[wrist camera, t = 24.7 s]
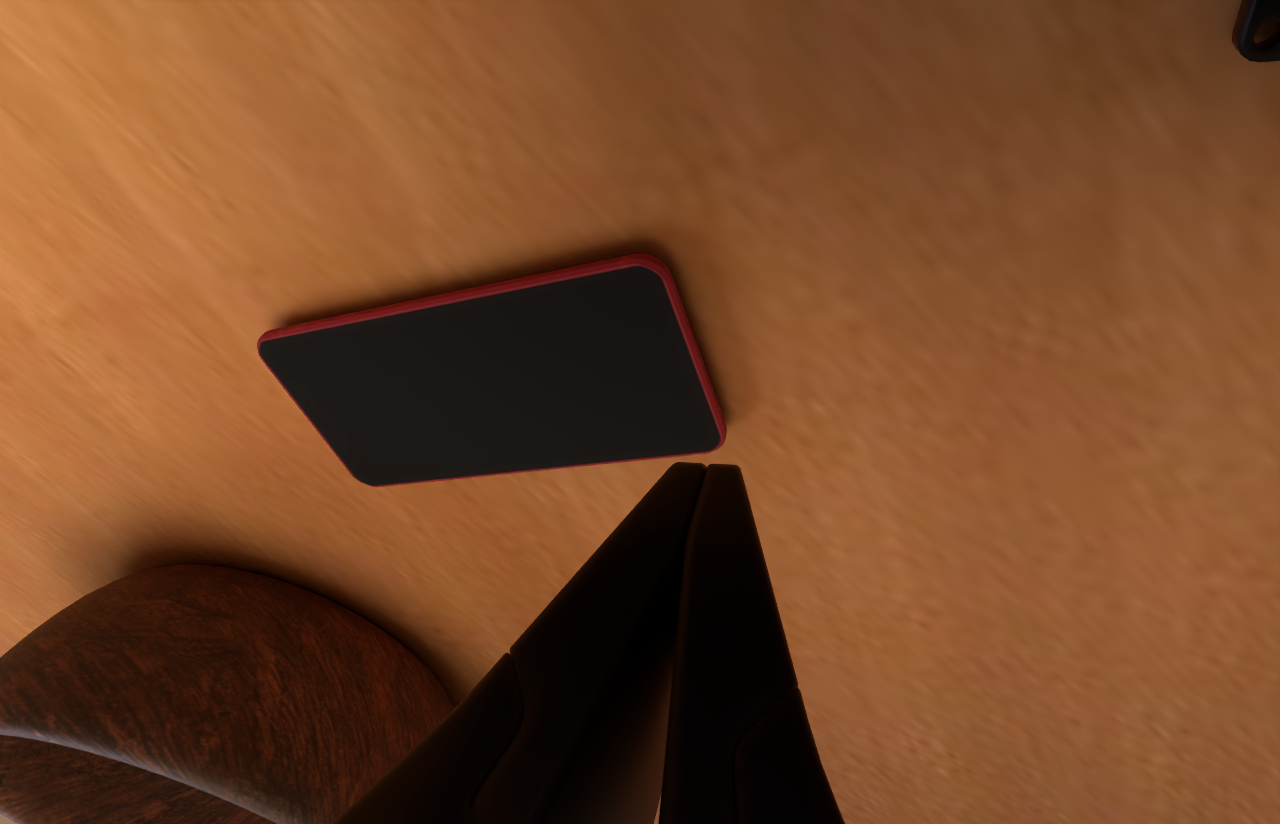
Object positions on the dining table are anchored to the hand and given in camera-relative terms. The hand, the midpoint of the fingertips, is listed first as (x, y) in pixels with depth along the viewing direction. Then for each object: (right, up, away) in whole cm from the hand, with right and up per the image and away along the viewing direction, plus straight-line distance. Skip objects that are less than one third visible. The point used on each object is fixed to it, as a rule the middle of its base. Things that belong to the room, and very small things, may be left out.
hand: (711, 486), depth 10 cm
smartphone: (-6, +2, +16) cm, 18 cm away
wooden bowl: (-21, -14, +36) cm, 44 cm away
